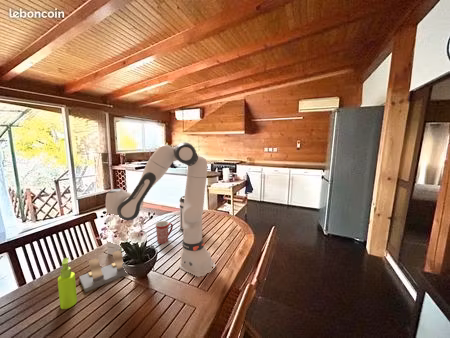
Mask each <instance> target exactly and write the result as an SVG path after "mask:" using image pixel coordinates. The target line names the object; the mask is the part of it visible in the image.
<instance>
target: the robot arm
mask: <svg viewBox="0 0 450 338" xmlns="http://www.w3.org/2000/svg"><path fill="white" fill-rule="evenodd" d="M176 161H178V162H180V163H181V164H184V165H186V166H187V174H186V176H187V177H186V182H185V190H184V196H185V197H184V206H183V216H184V218H183V230H182V234H183V236H182V237H183V238H182V242H181V243H182V245H181V246H182V250H181V254H180V262H179V264H178V269H180V270H183V271H184V272H186V273H188V272H189V273H188V274H190V273H191V274H190V275H192V274H193V275H192V276H194V275H195V276H194V277H196V276H197V277H196V278H201V277H200V276H202V277H204V276H203V275H205V276H207V275H208V274H207V273H209V272H210V271H212V270H213V269H214V268H215V266H216V263H214V262H213V261H212V260H213V259H212V255H211V252H210V251H208V250H207V249H206V246H205V244H206V243H205V242H204V239H203V214H204V213H203V212H204V205H205V194H206V193H205V192H206V185H207V176H208V161H207V159H206V158H204V157H203V156H199V155H198V154H197V151H196V149H195V147H194V146H193V144H191V143H189V142H186V141H183V142H179V143H178V144H176V145H174V146H171V145H170V144H169V145H168V144H161V145H160V146H158V148H156V149H155V151H154V152H153V153H152V155H151V156H150V157H149V159H148V160H147V162H146V164H145V167H144V169H143V171H142V174H141V177H140V180H139V182H138V184H137V185H136V187H135V188H134V189H133V191H132V193H130V192H128V191H127V190H124V189H122V188H114V189H110V190H109V191H108V192H107V193H106V195H105V209H106V212H105V215H106V216H107V215H108V213H110V214H114V215H119V217H120V218H122V219H124V220H125V221H133V220H135V219H136V218H137V217H138V216H139V215H140V211H141V209H142V207H143V205H144V199H145V198H146V197H147V195H148V193H149V192H150V190H151V189H152V187H154V185H156V183H157V182H159V181H160V180H161V179H162V178H163V176H164V175H165V174H166V173H167V171H168V170H169V169H170V167H171V165H172V164H173V163H174V162H176ZM111 209H112V210H111ZM106 213H107V214H106ZM212 267H214V268H212ZM216 267H217V266H216ZM215 269H216V268H215ZM215 269H214V270H215ZM214 270H213V271H214ZM213 271H212V272H213ZM206 274H207V275H206ZM209 274H210V273H209Z"/></svg>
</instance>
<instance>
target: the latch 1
mask: <svg viewBox="0 0 450 338" xmlns="http://www.w3.org/2000/svg"><path fill="white" fill-rule="evenodd" d="M88 265H89V269H90V272H91V273H92V276H93V282H94V281H97V280H99V279H102V278H104V275H103V274H102V271H101V268H102V267H101V265H100V260H99V258H98V257H97V258H93V259H90V260H88Z"/></svg>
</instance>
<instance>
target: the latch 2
mask: <svg viewBox="0 0 450 338" xmlns="http://www.w3.org/2000/svg"><path fill="white" fill-rule="evenodd" d="M122 254H123V253H122V250H121V251H120V250H119V251H116V252H113V253H112V257H113V260H114V263H115V264H116V267H117V272H118V271H121V270H123V269H124V268H123V266H122V264H123V261H122V258H123V259H124V257H123V255H122Z"/></svg>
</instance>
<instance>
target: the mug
mask: <svg viewBox="0 0 450 338" xmlns="http://www.w3.org/2000/svg"><path fill="white" fill-rule="evenodd" d="M173 226H174V224H173V223H171V222H169V221H167V220H160V221H158V222H156V223H155V231H156V240H157V243H158V244H166V243H168V241H169V236H170V234H171V233H172V231H173ZM169 228H170V229H169Z"/></svg>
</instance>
